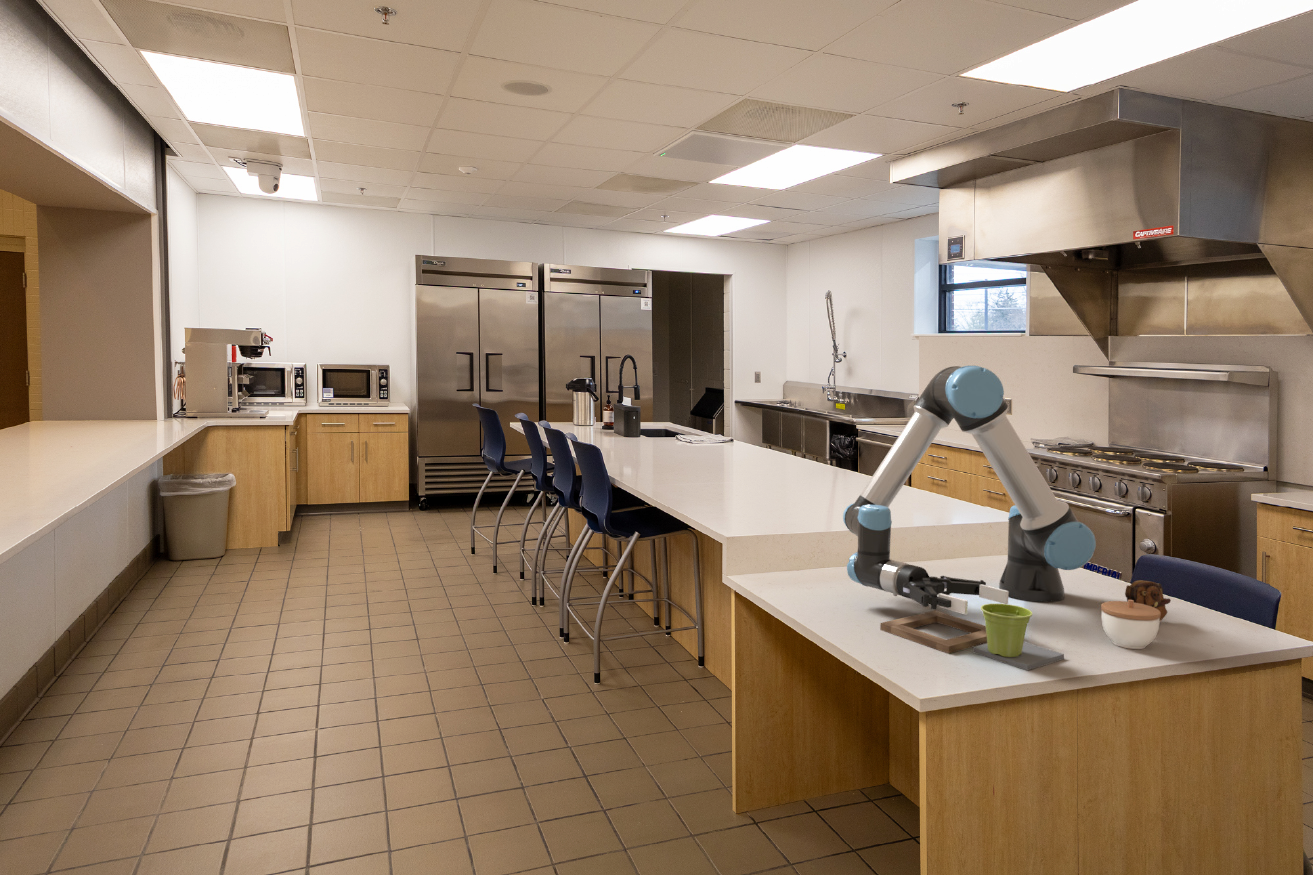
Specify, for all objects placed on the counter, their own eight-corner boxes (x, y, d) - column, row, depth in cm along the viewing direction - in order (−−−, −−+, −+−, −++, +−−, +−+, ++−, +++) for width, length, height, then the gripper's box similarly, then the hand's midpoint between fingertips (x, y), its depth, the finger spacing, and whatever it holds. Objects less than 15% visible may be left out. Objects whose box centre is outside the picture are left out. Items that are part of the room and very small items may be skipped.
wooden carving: (1135, 634, 176) (1137, 589, 175) (1114, 628, 180) (1116, 584, 179) (1174, 622, 185) (1176, 579, 184) (1152, 617, 189) (1155, 574, 188)
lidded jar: (1170, 653, 164) (1172, 607, 164) (1117, 652, 165) (1119, 607, 164) (1139, 636, 175) (1141, 593, 174) (1089, 635, 175) (1091, 593, 174)
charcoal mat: (1009, 641, 171) (1009, 637, 171) (1063, 658, 161) (1064, 653, 161) (972, 652, 165) (973, 647, 165) (1027, 670, 155) (1027, 665, 154)
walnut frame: (934, 616, 188) (934, 610, 188) (1004, 638, 173) (1004, 631, 173) (880, 629, 179) (880, 622, 179) (948, 653, 164) (948, 646, 164)
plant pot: (970, 644, 166) (972, 602, 165) (1015, 644, 166) (1018, 602, 166) (991, 660, 157) (993, 616, 156) (1039, 660, 157) (1041, 616, 156)
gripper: (940, 588, 193) (1022, 610, 175) (866, 604, 180) (947, 630, 162) (941, 557, 192) (1024, 576, 175) (867, 571, 179) (948, 593, 161)
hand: (987, 602), depth 168 cm, fingers open, 13 cm apart
